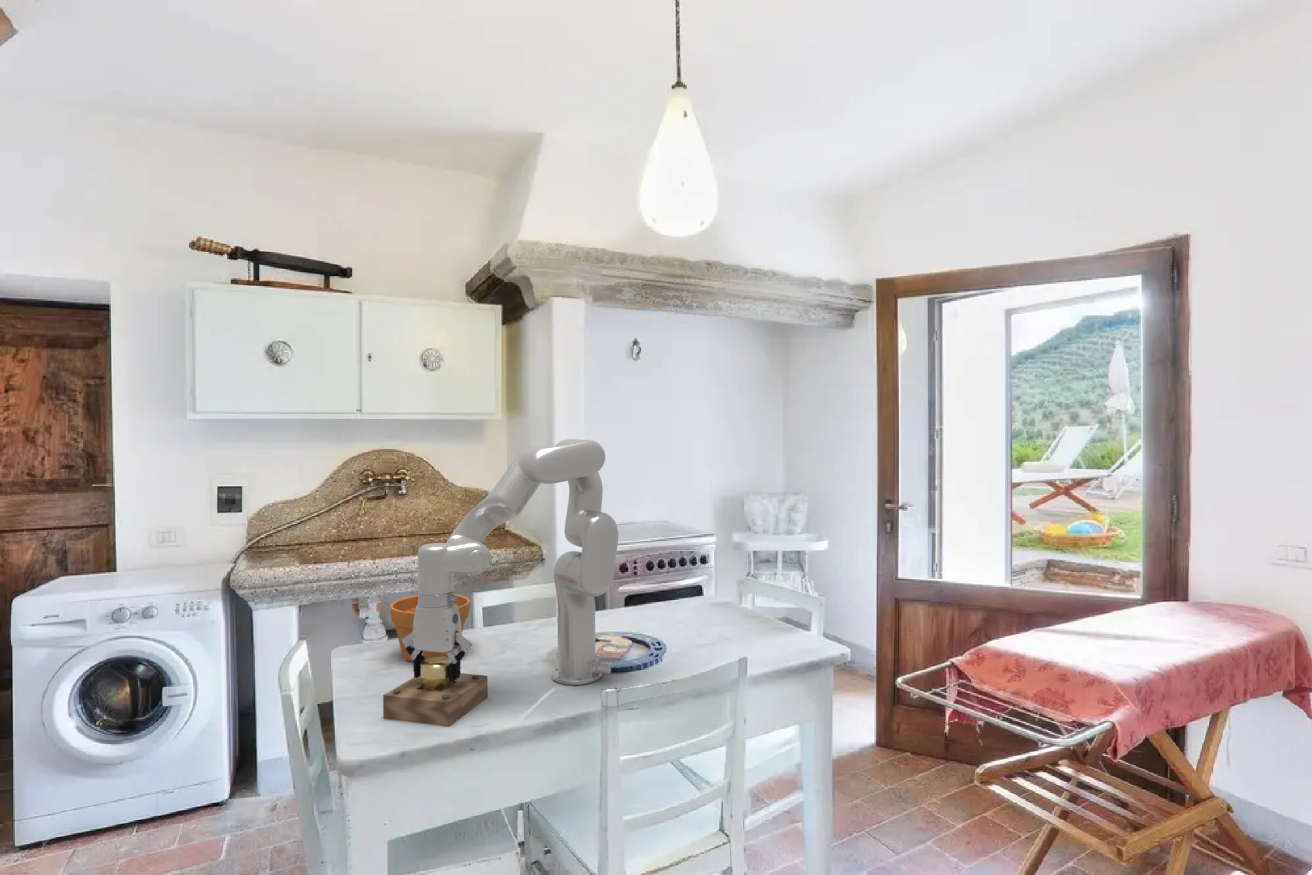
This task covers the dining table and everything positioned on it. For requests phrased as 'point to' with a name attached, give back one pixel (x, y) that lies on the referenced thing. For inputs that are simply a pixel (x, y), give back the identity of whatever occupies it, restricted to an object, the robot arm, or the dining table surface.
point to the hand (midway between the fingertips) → (436, 677)
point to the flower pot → (404, 620)
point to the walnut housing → (435, 700)
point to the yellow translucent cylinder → (435, 674)
